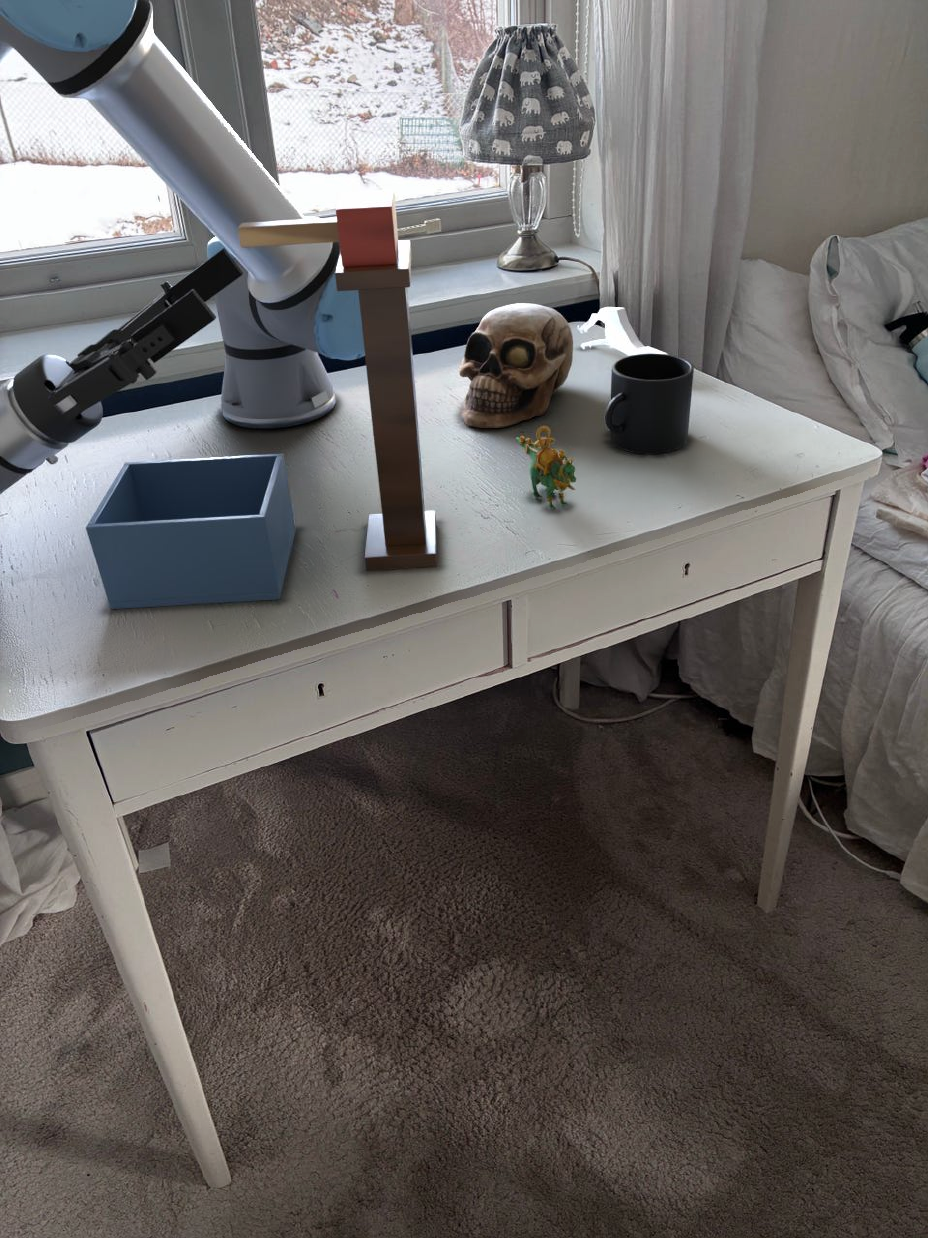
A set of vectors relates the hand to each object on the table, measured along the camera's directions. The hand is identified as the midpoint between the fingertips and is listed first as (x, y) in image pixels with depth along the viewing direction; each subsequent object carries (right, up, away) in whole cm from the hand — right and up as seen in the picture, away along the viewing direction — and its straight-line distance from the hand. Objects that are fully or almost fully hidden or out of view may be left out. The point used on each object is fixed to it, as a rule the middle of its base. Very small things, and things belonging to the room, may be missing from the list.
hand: (220, 280), depth 82 cm
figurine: (+30, -16, +23) cm, 41 cm away
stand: (+15, -22, +15) cm, 30 cm away
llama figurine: (+44, +8, +57) cm, 72 cm away
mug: (+42, -8, +34) cm, 55 cm away
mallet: (+9, +2, -1) cm, 9 cm away
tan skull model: (+28, 0, +46) cm, 54 cm away
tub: (-5, -24, +14) cm, 28 cm away
